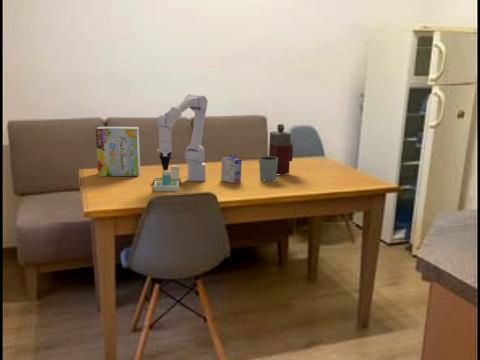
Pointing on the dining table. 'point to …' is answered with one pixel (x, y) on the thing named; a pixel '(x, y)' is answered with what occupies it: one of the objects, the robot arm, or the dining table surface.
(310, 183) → the dining table surface
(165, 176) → the block
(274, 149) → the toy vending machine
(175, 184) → the tray
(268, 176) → the drinking glass
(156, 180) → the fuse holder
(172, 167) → the block
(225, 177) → the ink cartridge box
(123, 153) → the snack box
